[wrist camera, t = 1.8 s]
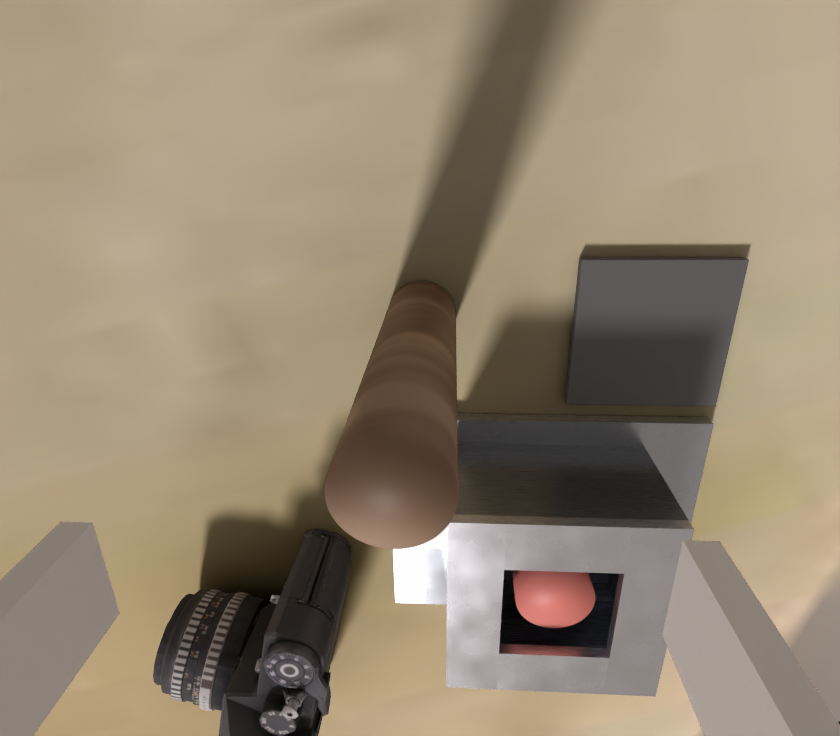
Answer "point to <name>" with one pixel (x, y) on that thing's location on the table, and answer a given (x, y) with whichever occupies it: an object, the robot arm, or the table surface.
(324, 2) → the table surface
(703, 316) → the rubber mat
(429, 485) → the walnut dowel
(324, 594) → the camera
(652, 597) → the box
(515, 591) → the breaker button
